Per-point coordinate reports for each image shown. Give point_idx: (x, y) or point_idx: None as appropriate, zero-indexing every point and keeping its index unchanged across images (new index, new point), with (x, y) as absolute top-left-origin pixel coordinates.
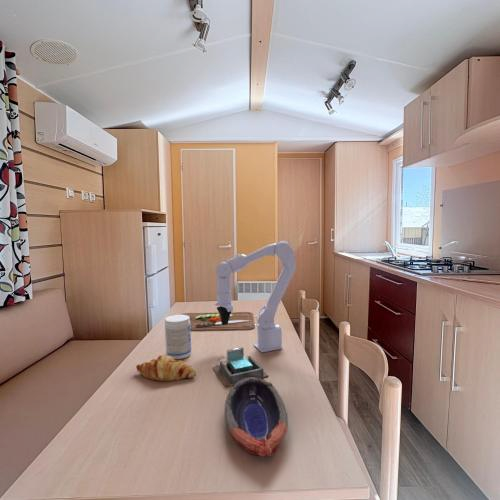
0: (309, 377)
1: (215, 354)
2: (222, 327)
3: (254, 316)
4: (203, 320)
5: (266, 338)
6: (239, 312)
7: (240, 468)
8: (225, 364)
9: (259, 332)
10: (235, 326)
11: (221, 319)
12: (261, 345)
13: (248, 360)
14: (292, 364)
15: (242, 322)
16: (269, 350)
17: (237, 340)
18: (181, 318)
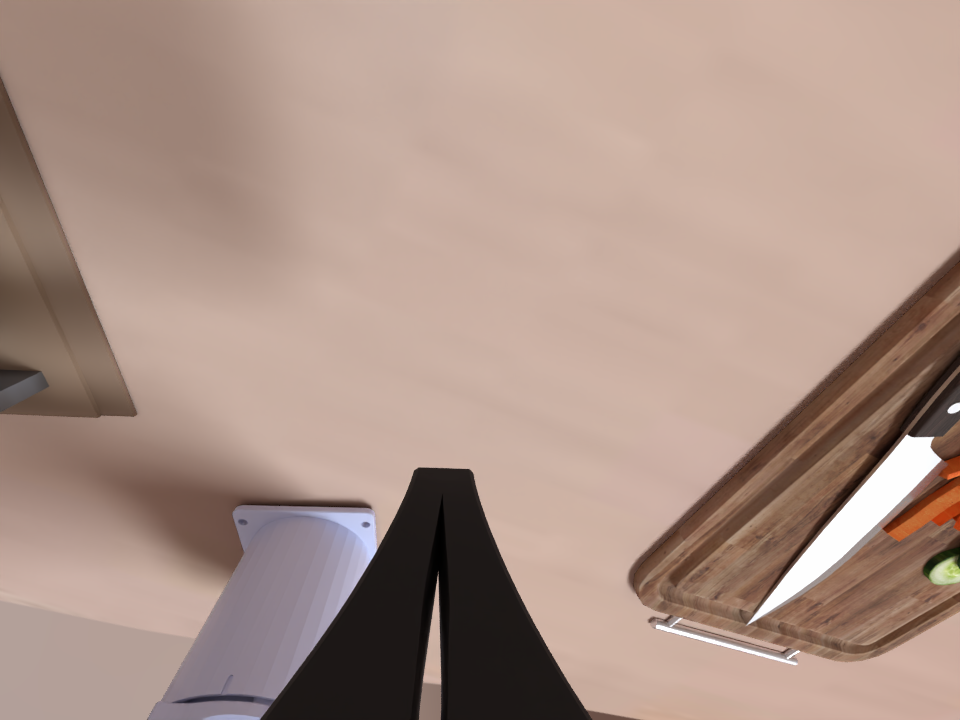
0: None
1: (316, 196)
2: (813, 457)
3: (796, 650)
4: None
5: (205, 622)
6: (933, 621)
7: None
8: (34, 191)
9: (224, 646)
10: (741, 530)
11: (426, 541)
12: (261, 544)
13: (12, 383)
14: (36, 562)
15: (765, 582)
16: (244, 546)
17: (517, 457)
18: None
